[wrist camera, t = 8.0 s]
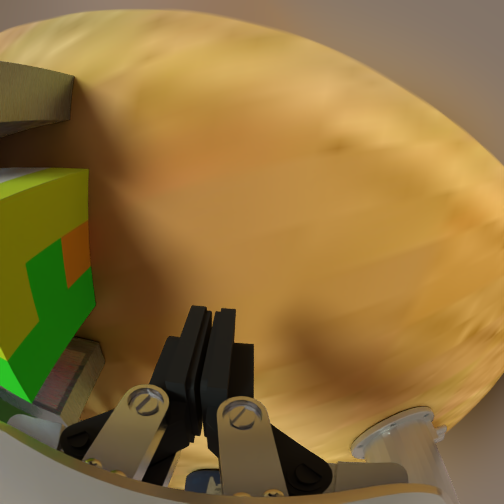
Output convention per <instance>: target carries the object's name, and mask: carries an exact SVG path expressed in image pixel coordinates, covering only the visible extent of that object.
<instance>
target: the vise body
mask: <svg viewBox="0 0 504 504" xmlns="http://www.w3.org/2000/svg"><path fill="white" fill-rule="evenodd" d="M73 80H74V76H72V75H68V74H64V73H60V72H56V71H51V70H47V69H42V68H38V67H32V66H27V65H22V64H16V63H9V62H2V61H0V138H1V137H4V136H7V135H10V134H14V133H17V132H20V131H24V130H27V129H31V128H35V127H39V126H43V125H47V124H52V123H56V122H61V121H66V120H70V109H71V97H72V88H73Z"/></svg>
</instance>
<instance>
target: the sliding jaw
mask: <svg viewBox="0 0 504 504" xmlns="http://www.w3.org/2000/svg"><path fill="white" fill-rule="evenodd" d="M104 364H105V360H104V357H103V355H102V352H101V349H100V346H99V343H98V342H94V341H90V340H85V339H81V338H76V337H73V338H72V339H71V341H70V342H69V344H68V345H67V347H66V348H65V350H64V351H63V353H62V354H61V356H60V357H59V359H58V361H57V362H56V364H55V365H54V367H53V368H52V370H51V372H50V373H49V375H48V377H47V378H46V380H45V382H44V383H43V385H42V387H41V388H40V390H39V392H38V393H37V395H36V397H35V399H34V401H33V402H32V404H31V403H29V402H28V401H26V400H24V399H22V398H20V397H19V396H17V395H15V394H13V393H12V392H10V391H8V390H7V389H5V388H4V387H2V386H0V398H1V399H2V400H4V401H6V402H7V403H9V404H11V405H13V406H15V407H16V408H18V409H20V410H22V411H24V412H26V413H28V414H30V415H32V416H34V417H36V418H39V419H43V420H47V421H52V422H57V423H62V424H63V425H64V426H65V427H68V426H70V425H72V424H75V423H78V422H81V421H82V420H79V418H80V416H81V413H82V411H83V409H84V406H85V404H86V402H87V400H88V397H89V395H90V393H91V391H92V389H93V387H94V384H95V382H96V380H97V378H98V376H99V374H100V372H101V370H102V368H103V366H104Z"/></svg>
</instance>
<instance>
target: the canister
mask: <svg viewBox="0 0 504 504" xmlns="http://www.w3.org/2000/svg"><path fill="white" fill-rule="evenodd" d="M185 491H190V492H197V493H205V494H214V495H222V490H221V481H220V472H219V471H216V470H202V471H195V472H192V473H190V474H189V475H188V476H187V478H186V483H185Z"/></svg>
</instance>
